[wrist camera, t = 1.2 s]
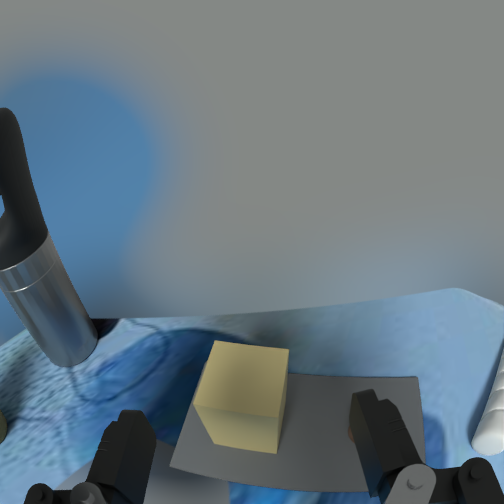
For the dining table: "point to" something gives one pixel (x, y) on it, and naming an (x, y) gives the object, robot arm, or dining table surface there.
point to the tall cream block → (244, 395)
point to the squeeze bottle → (2, 426)
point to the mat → (303, 437)
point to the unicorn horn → (492, 419)
